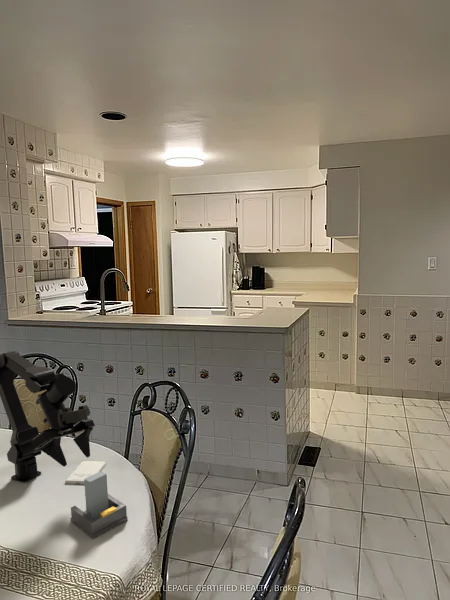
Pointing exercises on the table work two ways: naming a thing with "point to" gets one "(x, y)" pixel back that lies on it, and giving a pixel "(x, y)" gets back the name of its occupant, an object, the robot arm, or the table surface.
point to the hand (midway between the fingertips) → (77, 461)
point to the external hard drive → (85, 471)
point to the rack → (100, 518)
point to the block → (96, 494)
